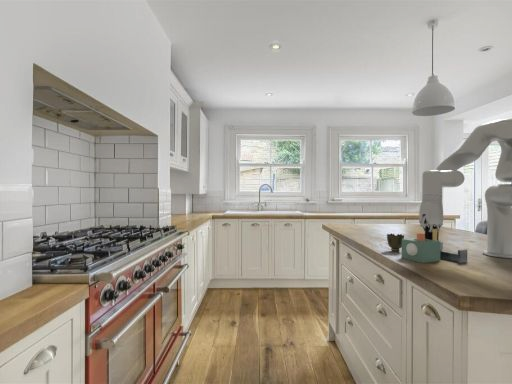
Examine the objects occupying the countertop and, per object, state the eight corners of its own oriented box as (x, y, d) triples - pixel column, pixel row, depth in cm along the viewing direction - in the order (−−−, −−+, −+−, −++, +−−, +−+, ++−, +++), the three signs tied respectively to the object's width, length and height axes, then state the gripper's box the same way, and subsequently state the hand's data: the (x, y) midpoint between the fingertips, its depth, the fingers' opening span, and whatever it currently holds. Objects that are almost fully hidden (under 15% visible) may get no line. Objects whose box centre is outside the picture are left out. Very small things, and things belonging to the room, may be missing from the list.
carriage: (429, 253, 134) (429, 227, 134) (442, 255, 129) (442, 229, 129) (420, 254, 132) (420, 228, 132) (433, 256, 126) (433, 229, 126)
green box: (418, 256, 130) (418, 237, 130) (440, 260, 120) (440, 241, 120) (400, 257, 125) (401, 238, 125) (422, 263, 116) (422, 242, 116)
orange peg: (419, 251, 125) (420, 233, 125) (426, 252, 122) (426, 234, 122) (414, 251, 124) (415, 233, 124) (421, 253, 121) (421, 234, 121)
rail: (423, 253, 136) (423, 242, 136) (467, 262, 119) (467, 249, 119) (416, 253, 134) (416, 242, 134) (460, 263, 117) (460, 250, 117)
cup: (405, 251, 140) (405, 234, 140) (403, 253, 134) (403, 236, 134) (387, 249, 144) (388, 232, 144) (385, 251, 138) (385, 234, 138)
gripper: (436, 198, 137) (435, 238, 137) (411, 198, 130) (410, 240, 130) (452, 198, 130) (452, 240, 130) (427, 198, 123) (427, 243, 123)
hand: (431, 240), depth 130 cm, fingers closed on carriage, 3 cm apart
